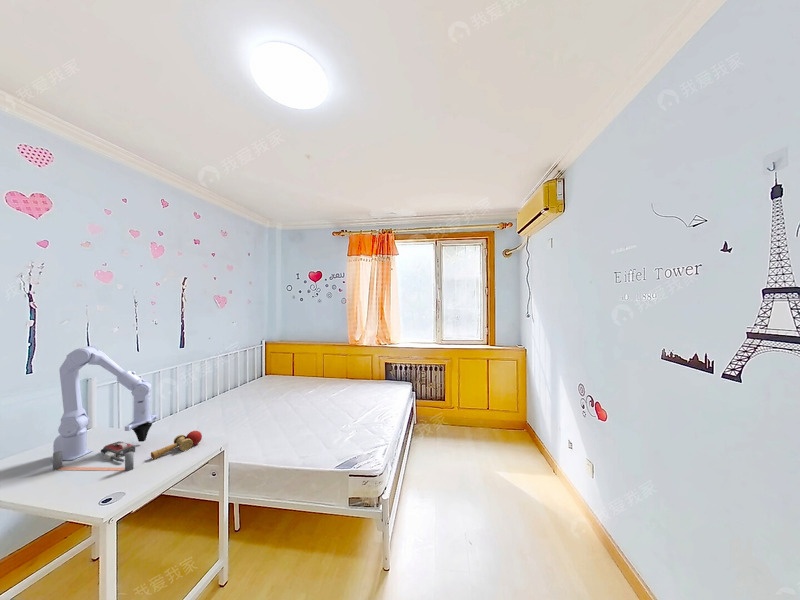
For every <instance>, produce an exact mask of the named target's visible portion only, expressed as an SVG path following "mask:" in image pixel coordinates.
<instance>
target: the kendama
mask: <svg viewBox="0 0 800 600" xmlns="http://www.w3.org/2000/svg"><path fill="white" fill-rule="evenodd" d="M202 439H203V436H202V433H201V431H198V430H192V431H190V432H189V433H187V434H186V435H184V434H179V435H177V436H175V438H174V440H173V443H172V444H169V445H167V446H165V447H162V448H159V449H156V450H154V451H151V452H150V456H151V457H150V458H151V459H152V458H153V459H152V460H156V459H157V458H159V457H161V456H163V455H166V454H168V453H169V452H171V451H172V450H174V449H176V448H178V449H179V450H180V451H183V452H186V451H188V450H190V449H191V448H192V447H193V446H195V445H198V444H199V443H200V442H201V441H202ZM185 450H186V451H185ZM155 458H156V459H155Z"/></svg>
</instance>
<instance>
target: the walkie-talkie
mask: <svg viewBox="0 0 800 600" xmlns="http://www.w3.org/2000/svg"><path fill="white" fill-rule="evenodd" d="M100 452H101V453H102V454H103V453H104V459H105V460H107V461H108V462H109V461H113V460H114V461H117V462H121V463H125V459H123V458H122V457H125V454H126V453H128V452H134V453H135V452H136V446H135V445H134V444H131V443H128V442H125V441H116V442H113V443H110V444H107V445H105V446H103V448H102V449H100Z"/></svg>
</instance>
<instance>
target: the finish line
mask: <svg viewBox="0 0 800 600" xmlns="http://www.w3.org/2000/svg"><path fill="white" fill-rule="evenodd" d="M134 453H135V452H128V453H126V454H125V456H124V467H98V466H97V467H92V466H91V467H90V466H86V467H85V466H84V467H83V466H63V460H62V458H63V451H58V452H55V453H53V452H52V458H53V460H52V471H98V472H99V471H104V472H105V471H106V472H109V471H111V472H112V471H114V472H117V471H119V472H124V471H125V472H130V471H132V470H134V462H135V461H134V455H135V454H134Z"/></svg>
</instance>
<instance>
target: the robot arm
mask: <svg viewBox="0 0 800 600" xmlns="http://www.w3.org/2000/svg"><path fill="white" fill-rule="evenodd" d="M86 364H87V365H97V366H100V367H102V368H103V369H104V370H106V371H107V372H109V373H111V374H112V375H114V376H115V377H116V381H117V382H118V383H119V384H120V385H122V386H124V387H125V388H126V389H128V390H129V391H131V393H130V394H131V396H133V420H132V421H131V422H130V423H129V424H126V425H124V432H130V431H133V433H134V434H135V435H136V438H137V440H138V442H139V443H143V442H145V441H146V440H147V437H148V434H149V431H150V429H151V427H152V425H153V420H157V419H158V418H159V414H158V413H155V414H151V391H152V389H153V385H152V383H151V382H150V381H148V380H146V379H144V378H141V377H139V376H138V375H137V372H136V371H134V370H133V371H132V370H130V369H129V370H124V369H123V368H122V367H121V365H118V364H117V363H116V362H115V361H114V360H113V359H111V358H110V357H109V356H108V355H107V354H106V353H105V352H104V351H102V350H99V348H98V347H96V346H92V345H90V346H89V345H88V346H84V347H82V348H76V349H74V350H72V351H70V352H69V353H68V354H66V358H65V359H64V361H63V362H62V364H61V366H60V367H59V378H60V379H59V380H60V387H61V399H62V407H63V414H62V416H61V418H60V425H59V426H58V429H57V430H58V434H59V435H58V436H57V437H56V438H55V439H54V441H53V445H52V446H53V447H52V449H53V450H52V451H53V452H52V454H53V453H55V452H58V451H63V458H62V461H74V460H76V459H78V458H81V457H83V456H86V455H87V454H89V453H92V452H94V449H88V429H87V426H88V425H89V423H90V417H89V416H88V415H87V412H86V409H85V408H83V399H82V391H81V381H80V371H79V370H81V369H82V368H83V367H84V366H86ZM50 460H51V461H53V457H50Z"/></svg>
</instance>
